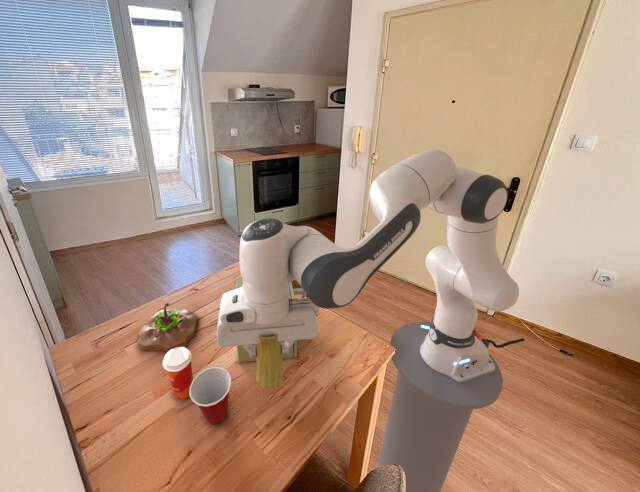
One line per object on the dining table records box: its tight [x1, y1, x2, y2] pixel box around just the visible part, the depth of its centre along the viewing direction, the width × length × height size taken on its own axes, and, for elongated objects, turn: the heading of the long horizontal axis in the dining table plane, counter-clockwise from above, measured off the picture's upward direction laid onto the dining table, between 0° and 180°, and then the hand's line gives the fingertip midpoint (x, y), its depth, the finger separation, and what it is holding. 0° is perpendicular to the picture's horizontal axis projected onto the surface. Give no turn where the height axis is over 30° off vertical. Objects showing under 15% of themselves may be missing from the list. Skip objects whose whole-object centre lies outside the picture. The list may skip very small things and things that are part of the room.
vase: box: [255, 334, 285, 390], centre depth 62 cm, size 6×6×14 cm
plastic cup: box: [189, 366, 232, 425], centre depth 78 cm, size 11×11×12 cm
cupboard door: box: [289, 281, 307, 358], centre depth 102 cm, size 7×20×19 cm, turn 5°
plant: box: [136, 301, 199, 353], centre depth 106 cm, size 20×20×11 cm
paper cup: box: [162, 346, 194, 400], centre depth 84 cm, size 8×8×14 cm
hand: (268, 353), depth 62 cm, fingers closed on vase, 5 cm apart
